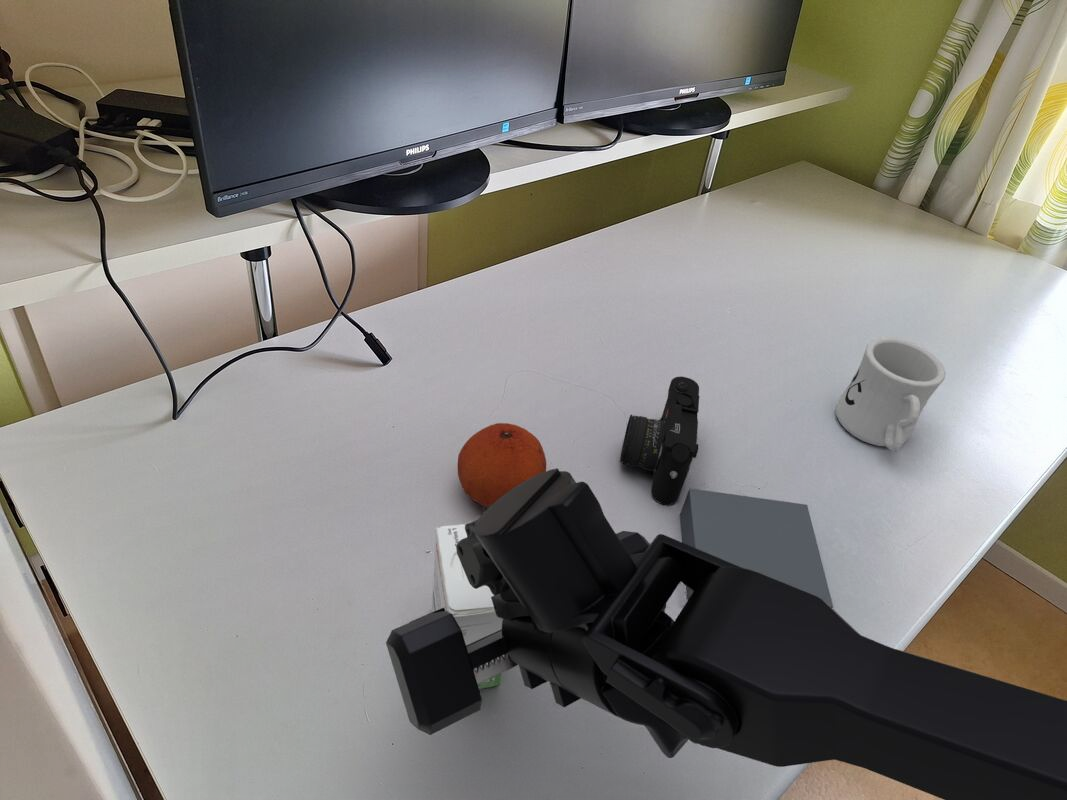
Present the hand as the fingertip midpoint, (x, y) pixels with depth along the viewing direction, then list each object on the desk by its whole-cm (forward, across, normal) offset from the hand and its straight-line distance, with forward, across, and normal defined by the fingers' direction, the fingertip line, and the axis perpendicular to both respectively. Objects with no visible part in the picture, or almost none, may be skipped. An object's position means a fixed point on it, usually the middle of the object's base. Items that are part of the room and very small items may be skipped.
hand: (486, 604), depth 57 cm
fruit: (+19, -11, -5) cm, 22 cm away
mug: (+11, -57, +3) cm, 58 cm away
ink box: (+9, 0, +5) cm, 10 cm away
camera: (+16, -29, -3) cm, 34 cm away
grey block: (+5, -28, +9) cm, 30 cm away
